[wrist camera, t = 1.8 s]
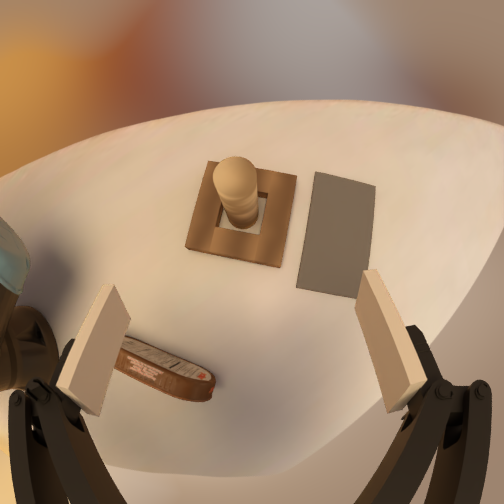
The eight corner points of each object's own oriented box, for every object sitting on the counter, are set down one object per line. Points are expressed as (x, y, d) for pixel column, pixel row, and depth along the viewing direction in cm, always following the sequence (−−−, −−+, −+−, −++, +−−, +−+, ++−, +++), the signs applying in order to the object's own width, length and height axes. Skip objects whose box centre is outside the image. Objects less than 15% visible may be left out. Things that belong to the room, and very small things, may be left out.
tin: (117, 347, 34) (84, 356, 26) (122, 327, 35) (89, 332, 26) (216, 390, 33) (203, 414, 25) (223, 369, 33) (211, 389, 25)
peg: (224, 225, 36) (208, 191, 25) (231, 197, 37) (218, 153, 25) (255, 231, 36) (251, 199, 24) (261, 203, 37) (260, 160, 25)
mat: (295, 287, 35) (296, 287, 34) (314, 173, 37) (315, 171, 37) (361, 299, 34) (363, 299, 34) (374, 187, 37) (375, 186, 36)
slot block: (188, 249, 36) (184, 246, 34) (210, 167, 38) (208, 160, 36) (279, 268, 35) (280, 266, 33) (295, 181, 37) (297, 175, 35)
